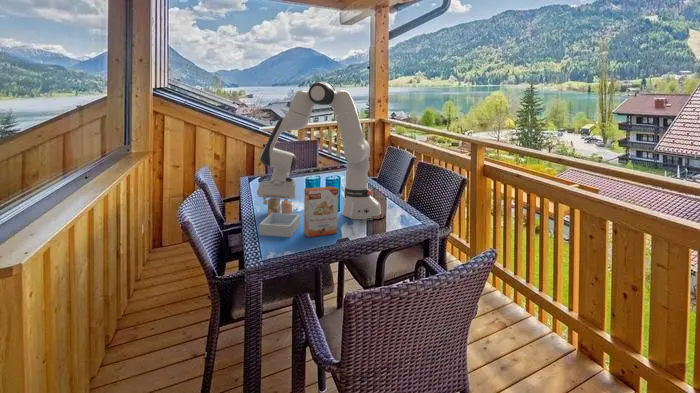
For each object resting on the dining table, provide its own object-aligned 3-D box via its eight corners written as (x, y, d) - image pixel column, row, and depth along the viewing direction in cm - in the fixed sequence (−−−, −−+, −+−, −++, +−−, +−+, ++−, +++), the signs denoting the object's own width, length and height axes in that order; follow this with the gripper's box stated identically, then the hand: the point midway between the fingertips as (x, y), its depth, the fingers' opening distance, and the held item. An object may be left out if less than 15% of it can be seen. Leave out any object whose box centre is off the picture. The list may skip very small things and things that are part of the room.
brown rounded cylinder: (293, 219, 200) (293, 201, 198) (290, 222, 195) (290, 204, 193) (283, 218, 201) (283, 201, 198) (280, 221, 196) (280, 203, 194)
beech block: (280, 213, 209) (280, 198, 207) (277, 216, 204) (277, 201, 202) (270, 212, 209) (270, 198, 207) (267, 215, 204) (267, 200, 202)
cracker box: (308, 238, 174) (308, 191, 169) (303, 233, 180) (303, 188, 174) (337, 233, 181) (338, 188, 176) (332, 229, 186) (332, 185, 181)
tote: (300, 224, 192) (300, 214, 191) (290, 237, 175) (290, 226, 174) (272, 222, 194) (271, 212, 192) (259, 235, 176) (258, 224, 175)
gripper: (258, 177, 211) (252, 200, 204) (296, 179, 209) (291, 202, 202) (261, 183, 216) (255, 206, 209) (298, 186, 214) (294, 208, 207)
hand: (273, 204), depth 206 cm, fingers open, 8 cm apart
